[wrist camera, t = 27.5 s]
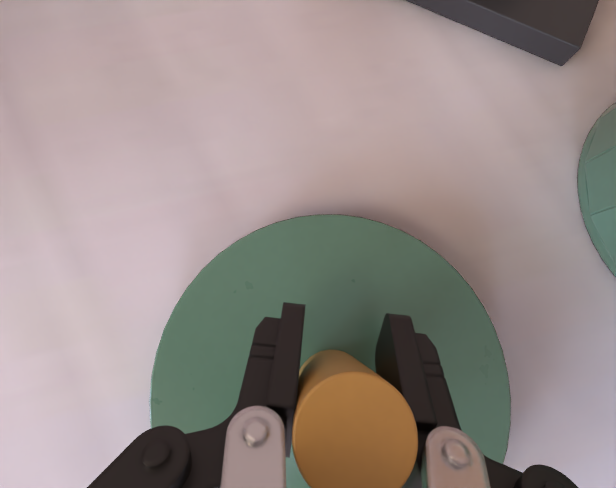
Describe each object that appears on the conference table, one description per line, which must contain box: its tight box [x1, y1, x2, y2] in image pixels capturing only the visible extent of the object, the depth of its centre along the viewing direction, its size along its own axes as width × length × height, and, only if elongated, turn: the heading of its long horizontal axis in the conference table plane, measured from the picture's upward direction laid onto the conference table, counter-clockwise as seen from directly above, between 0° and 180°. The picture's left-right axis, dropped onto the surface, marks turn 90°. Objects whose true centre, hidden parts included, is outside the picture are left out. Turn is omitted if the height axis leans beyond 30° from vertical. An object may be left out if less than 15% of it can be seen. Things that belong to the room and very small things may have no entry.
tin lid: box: [149, 214, 511, 488], centre depth 11 cm, size 13×13×7 cm
